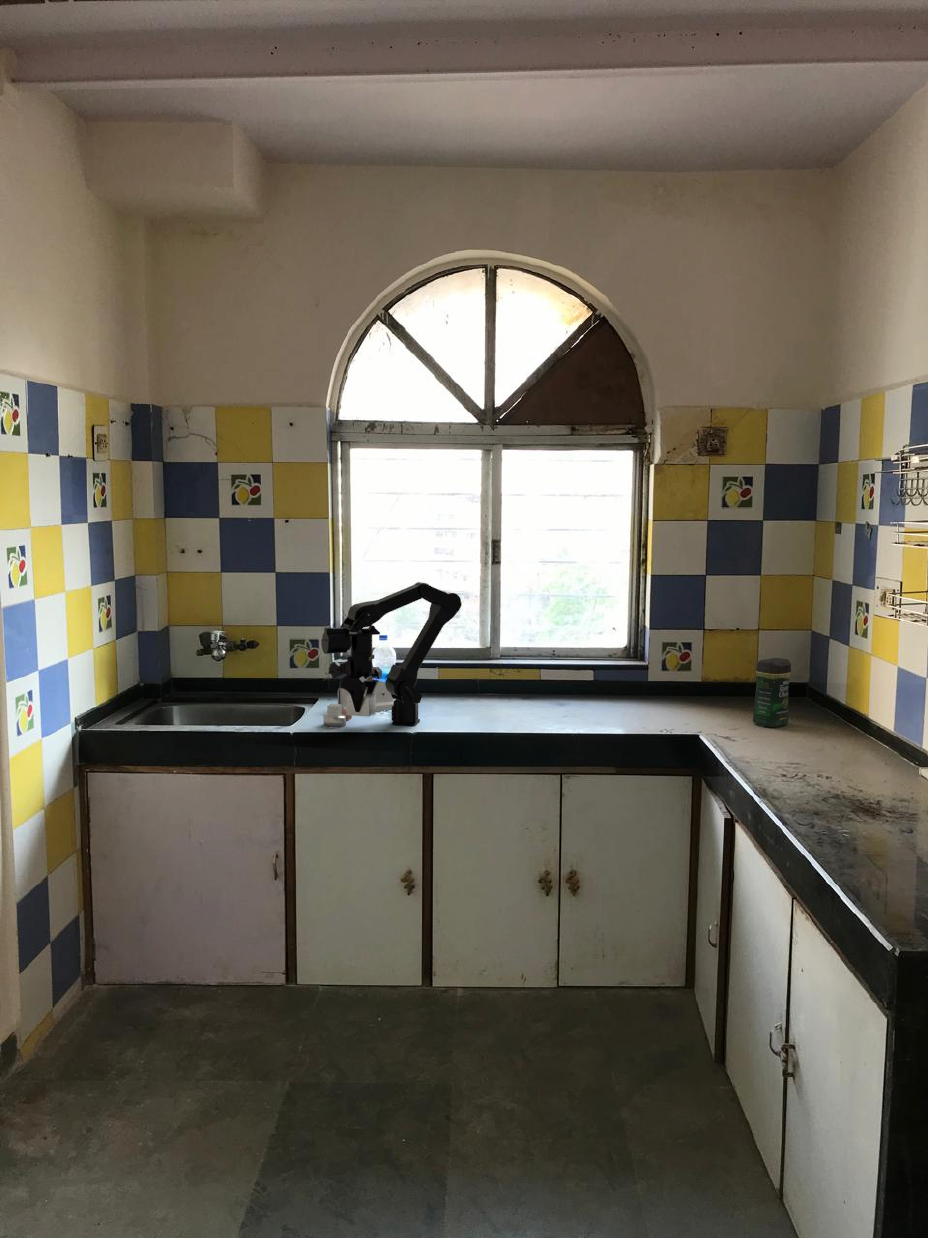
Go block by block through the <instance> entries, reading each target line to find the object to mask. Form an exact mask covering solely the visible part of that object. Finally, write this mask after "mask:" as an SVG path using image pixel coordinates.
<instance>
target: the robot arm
mask: <svg viewBox="0 0 928 1238" xmlns="http://www.w3.org/2000/svg"><path fill="white" fill-rule="evenodd" d="M422 599H423V600H424V601H426V602H428V603H430V605H429V613H428V618H427V620H426V622H425V623H424V625H423V627H422V628H421V630H420V632H419V634H418V636H417V637H416V639H415V641H414V642H413V644H412V646H411V647H410V649H409V651H408V653H407V655H406V656H405V658H404V659H403V661H402V662H401V663H400V664H399V665H397V664H393V663H392V666H391V667H390V670H389V671H388V673H387V674H386V675H385V676H384V677H385V681H384V682H385V685H386V689H387V691H388V692H389V693H391V696H392V700H393V702H394V705H393V706H392V711H391V721H392V722H391V725H396V726H412V727H413V726H416V725H417V724H418V723H420V721H421V719H420V718H419V704H420V703H421V700H422V698H423V695H422V694H421V693H420V692H419V691H418V690H417V689H416V688H415V686H416V684H417V681H418V673H419V670H420V668H421V666H422V664H423V663H424V661H425V659H426V657H427V655H428V653H429V652H430V650H431V649H432V647H433V645H434V643H435V641H436V639H437V637H438V636H439V634H440V633H441V631H442V630H443V627H444V626H445V625H446V624H447V623H448V622H450V621H451V620H453V618H454V617H455V616H456V615H457V613H458V612H459V611H460V610H461V608H462V605H463V604H462V603H463V602H462V601H461V597H460V596H459V594H458V593H456V592H450V591H446V590H441V589H439V588H436V587H434V586H432V585H430V584H429V583H426V582H422V581H417V582H415V583H414V584H412V585H410V586H408V587H406V588H404V589H401V590H399V591H396V592H393V593H391V594H389V595H386V596H383V597H381V598H379V599H376V600H368V601H363V602H359V603H354V604H352V605H351V606H350V607H349V610H348V612H347V616H346V618H345V619H344V620H343V621H342V623H341V625H340V626H339V627H324V629H323V631H324V632H323V634H322V636H321V641H320V643H321V645H320V646H321V650H322V652H323V654H324V655H329V654H330V655H331V654H344V653H348V651H349V650H350V654H349V655H348V656H347V658H346V660H345V661H342V662H338V661H335V662H331V663H330V664H329V667H328V672H327V673H328V674H329V675H331V678H332V679H333V680H334V679H336V678H338V677H340V676H343V675H345V676H343V677H341V679H340V680H339V688H342V689H344V690H346V691H348V692H349V693H350V695H351V698H352V702H353V705H354V708H355V712H360V710H361V707H362V704H363V701H364V698H365V695H366V693H373V692H374V690H375V688H376V686H377V684H378V682H379V681H380V679H382V678H383V670H382V669H381V668H380V667H378V666H373V660H374V659H375V654H373V636H375V635H377V636H378V635H380V634H381V631H379V630H378V629H377V628H376V627H375V625H374V624H376V623H377V622H379V621H380V620H381V619H382V618H383V617H384V616H385V615H387V614H389V613H391V612H394V611H395V610H398V609H400V608H403V607H405V606H407V605H410V604H413V603H414V602H417V601H419V600H422ZM375 678H376V679H375Z"/></svg>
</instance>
